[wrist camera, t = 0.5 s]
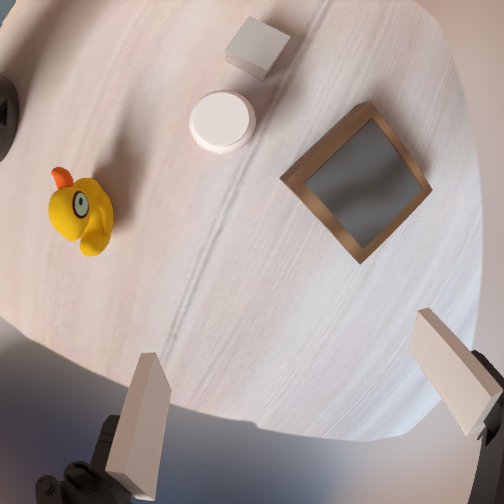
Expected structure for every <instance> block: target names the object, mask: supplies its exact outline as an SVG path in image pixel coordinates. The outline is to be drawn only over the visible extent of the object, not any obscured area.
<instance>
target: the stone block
mask: <svg viewBox="0 0 504 504" xmlns="http://www.w3.org/2000/svg"><path fill="white" fill-rule="evenodd" d="M289 39H290V36H288V35H286V34H285V33H283V32H281V31H279V30H277V29H275V28H273V27H271V26H269V25H267V24H265V23H263V22H261V21H258V20H256V19H254V18H252V17H250V16H249V17H248V19H247V20H246V21H245V23H244V24H243V25H242V27H241V28H240V29H239V31H238V32H237V34H236V35H235V36H234V38H233V39H232V41H231V42H230V43H229V45H228V46H227V48H226V49H225V54H226V62H227V63H229V64H231V65H233V66H235V67H238V68H240V69H242V70H244V71H246V72H248V73H250V74H251V75H253V76H255V77H257V78H259V79H261V80H264V78H265V77H266V75H267V74H268V72H269V71H270V69H271V68H272V66H273V65H274V63H275V62H276V60H277V59H278V57H279V56H280V54H281V53H282V51H283V50H284V48H285V46H286V44H287V42H288V41H289Z"/></svg>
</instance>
